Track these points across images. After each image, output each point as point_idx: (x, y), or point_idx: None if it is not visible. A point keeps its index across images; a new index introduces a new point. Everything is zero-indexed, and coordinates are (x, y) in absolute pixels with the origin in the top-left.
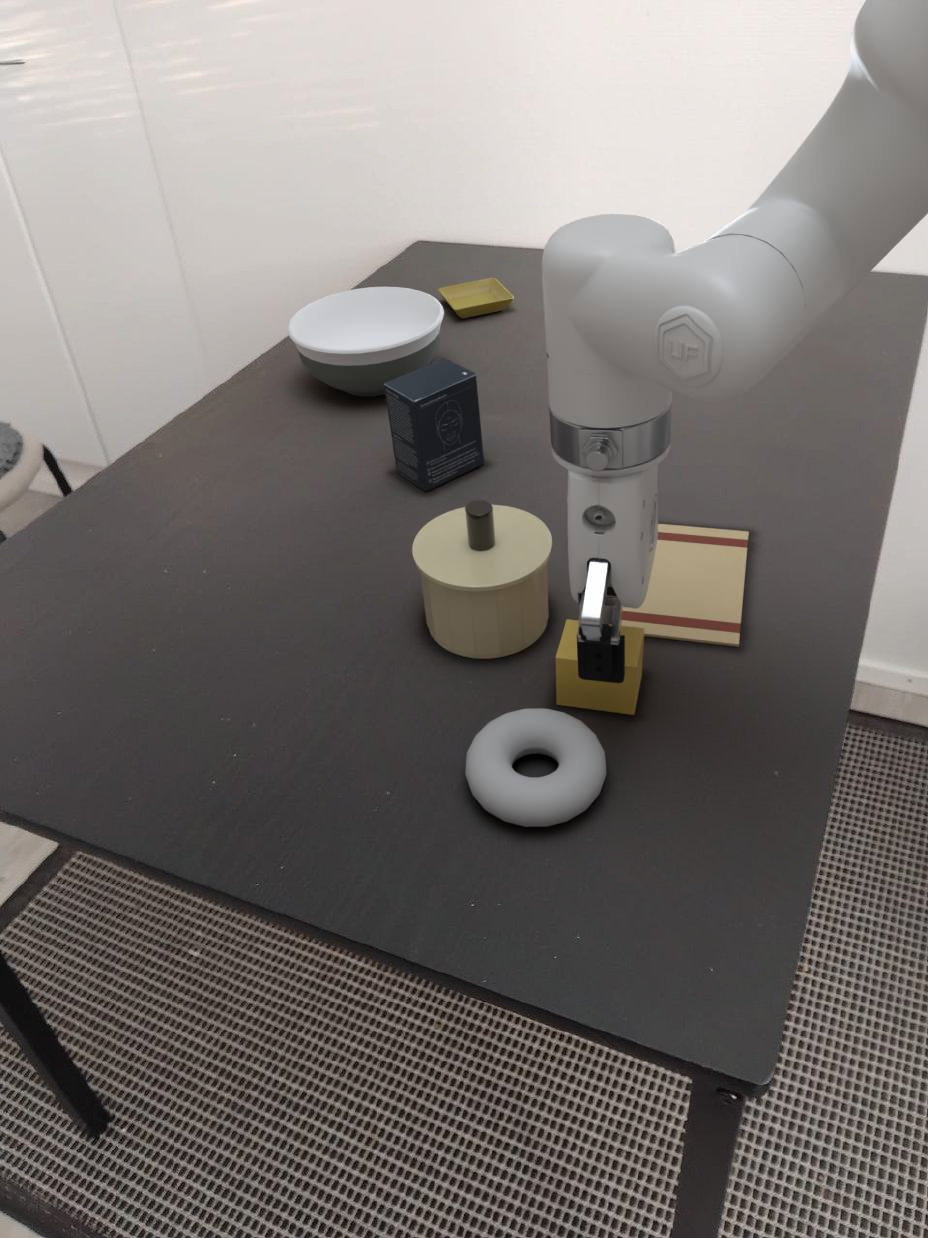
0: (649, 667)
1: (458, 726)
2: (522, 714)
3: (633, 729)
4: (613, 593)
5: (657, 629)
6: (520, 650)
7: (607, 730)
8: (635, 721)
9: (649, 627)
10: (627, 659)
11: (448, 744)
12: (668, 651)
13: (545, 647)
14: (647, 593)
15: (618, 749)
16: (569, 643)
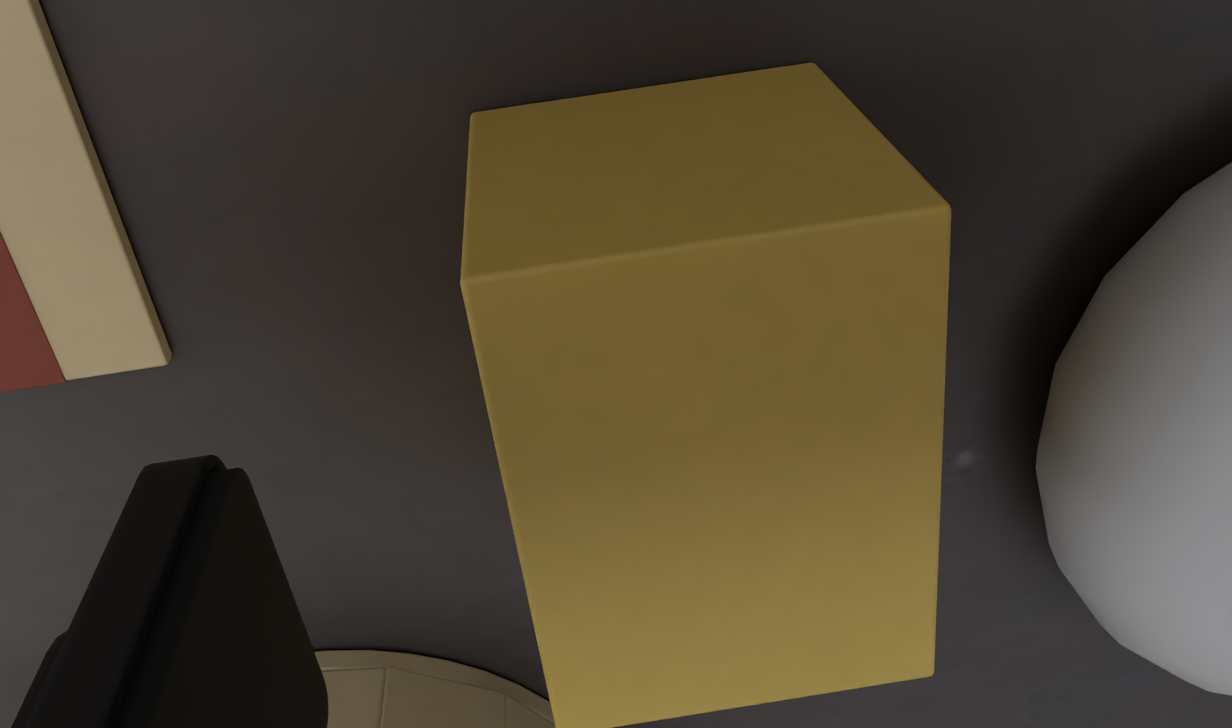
0: (378, 86)
1: (1021, 708)
2: (1219, 614)
3: (920, 33)
4: (300, 648)
5: (20, 136)
6: (518, 686)
7: (951, 165)
8: (855, 39)
9: (29, 190)
10: (879, 292)
11: (1119, 701)
12: (174, 8)
13: (445, 606)
14: None
15: (1081, 69)
16: (788, 654)
